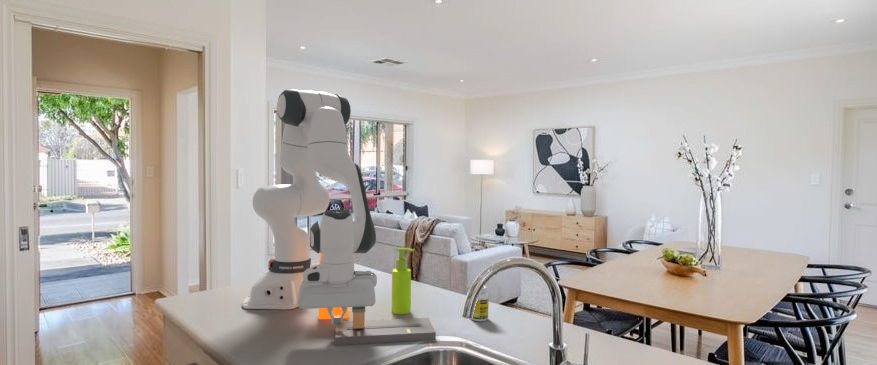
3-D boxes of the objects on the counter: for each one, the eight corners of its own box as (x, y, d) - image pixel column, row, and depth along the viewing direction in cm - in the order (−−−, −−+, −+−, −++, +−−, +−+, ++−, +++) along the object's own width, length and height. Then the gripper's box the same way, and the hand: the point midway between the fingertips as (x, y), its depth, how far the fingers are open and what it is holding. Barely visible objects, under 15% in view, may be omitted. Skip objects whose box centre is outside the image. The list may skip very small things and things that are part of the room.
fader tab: (352, 330, 126) (352, 310, 126) (352, 323, 132) (352, 304, 132) (365, 329, 127) (365, 309, 127) (364, 323, 132) (364, 303, 132)
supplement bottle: (480, 323, 141) (481, 290, 141) (466, 318, 145) (467, 286, 144) (491, 318, 145) (492, 286, 145) (477, 314, 149) (478, 283, 148)
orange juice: (348, 318, 144) (348, 251, 143) (317, 319, 142) (318, 252, 142) (349, 310, 151) (349, 247, 151) (320, 311, 150) (320, 247, 149)
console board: (334, 345, 123) (335, 336, 122) (336, 329, 134) (336, 321, 134) (435, 339, 127) (435, 331, 127) (428, 324, 139) (428, 317, 139)
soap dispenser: (410, 315, 147) (411, 250, 146) (389, 313, 149) (389, 249, 148) (415, 309, 153) (416, 247, 152) (394, 308, 154) (395, 246, 153)
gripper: (376, 268, 133) (375, 317, 133) (299, 270, 129) (299, 321, 130) (377, 273, 126) (377, 325, 127) (296, 275, 123) (296, 329, 123)
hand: (337, 323), depth 128 cm, fingers closed
